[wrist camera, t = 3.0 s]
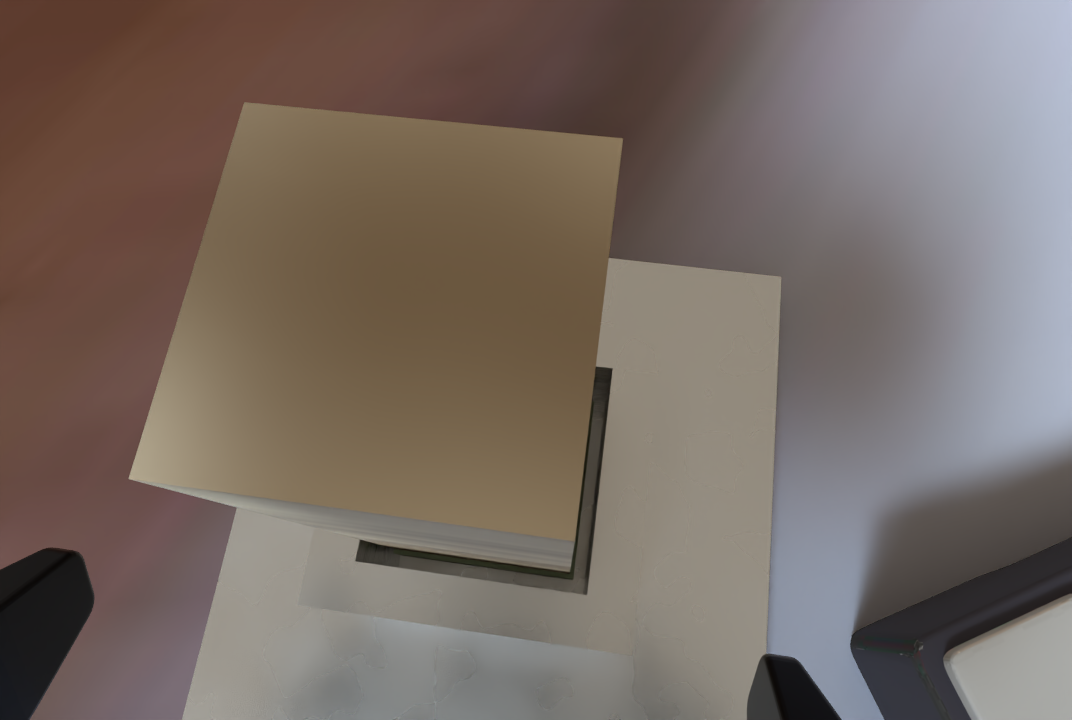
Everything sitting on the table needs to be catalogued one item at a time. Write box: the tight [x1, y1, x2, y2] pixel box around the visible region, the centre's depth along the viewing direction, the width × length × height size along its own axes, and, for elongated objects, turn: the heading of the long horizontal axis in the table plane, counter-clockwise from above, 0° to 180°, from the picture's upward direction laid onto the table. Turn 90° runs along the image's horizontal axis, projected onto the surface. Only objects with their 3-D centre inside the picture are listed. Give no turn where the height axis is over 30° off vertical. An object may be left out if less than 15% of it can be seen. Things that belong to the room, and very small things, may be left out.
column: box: [129, 102, 623, 580], centre depth 13 cm, size 4×4×13 cm
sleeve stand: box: [182, 258, 781, 720], centre depth 18 cm, size 14×14×6 cm
